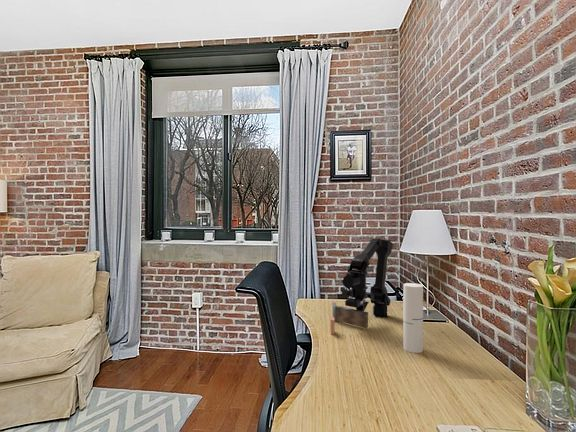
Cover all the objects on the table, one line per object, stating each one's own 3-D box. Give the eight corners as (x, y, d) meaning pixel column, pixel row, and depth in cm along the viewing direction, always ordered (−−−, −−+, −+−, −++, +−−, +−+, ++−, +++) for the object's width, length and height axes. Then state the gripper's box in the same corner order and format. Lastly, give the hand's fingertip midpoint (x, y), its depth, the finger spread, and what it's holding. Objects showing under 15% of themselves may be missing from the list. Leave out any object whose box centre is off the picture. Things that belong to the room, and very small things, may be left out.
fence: (335, 315, 169) (335, 301, 169) (340, 334, 142) (340, 317, 142) (328, 315, 170) (328, 300, 170) (330, 334, 143) (330, 317, 143)
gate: (336, 320, 159) (336, 306, 159) (338, 319, 160) (338, 305, 160) (365, 328, 148) (365, 313, 148) (368, 327, 150) (368, 312, 150)
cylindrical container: (424, 353, 123) (424, 287, 123) (404, 352, 125) (404, 286, 124) (420, 346, 130) (421, 283, 130) (402, 344, 132) (402, 282, 131)
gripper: (353, 278, 167) (354, 309, 167) (334, 286, 152) (335, 319, 153) (374, 281, 160) (374, 313, 160) (356, 289, 145) (357, 324, 146)
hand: (360, 317), depth 155 cm, fingers closed
